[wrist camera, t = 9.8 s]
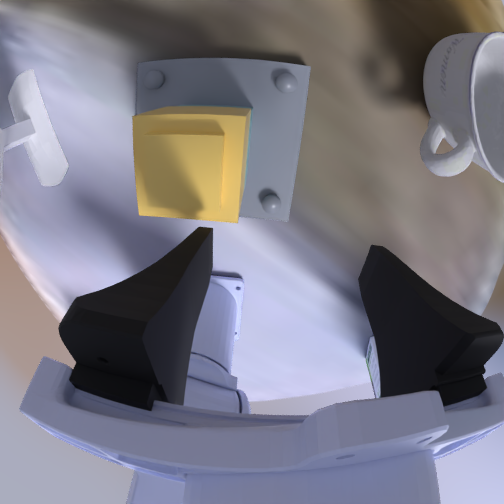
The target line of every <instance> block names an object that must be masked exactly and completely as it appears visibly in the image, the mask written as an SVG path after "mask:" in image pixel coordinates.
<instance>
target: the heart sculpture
mask: <svg viewBox="0 0 504 504" xmlns="http://www.w3.org/2000/svg"><path fill="white" fill-rule="evenodd" d="M8 101H9V104H10V107H11V110H12V114H13V117H14V120H15V123H16V124H14V125H12V126H9V127H7V128H4V129H1V128H0V196H1V187H2V171H3V153H4V152H5V151H7V150H9V149H11V148H14V147H16V146H18V145H20V144H22V143H23V144H24V147H25V149H26V152H27V154H28V157H29V159H30V161H31V164H32V166H33V168H34V170H35V172H36V175H37V177H38V179H39V181H40V183H41V185H42V186H56V185H59V184H60V183H61V181H62V180H63V178H64V176H65V174H66V172H67V170H68V167H69V164H68V162H67V159H66V157H65V155H64V153H63V150H62V148H61V146H60V144H59V141H58V139H57V136H56V134H55V131H54V129H53V126H52V124H51V121H50V119H49V116H48V113H47V111H46V108H45V105H44V102H43V99H42V96H41V93H40V90H39V87H38V84H37V81H36V77H35V74H34V70H33V69H31V70H27V71H25V72H23V73H21V74H20V75H18V76H17V78H16V79H15V81H14V83H13V85H12V87H11V89H10V92H9V95H8Z"/></svg>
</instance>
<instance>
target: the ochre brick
mask: <svg viewBox="0 0 504 504" xmlns="http://www.w3.org/2000/svg"><path fill="white" fill-rule="evenodd" d="M250 116H251V109H250V108H236V107H215V106H167V107H163V108H159V109H155V110H152V111H148V112H144V113H141V114H138V115H134V116H133V150H134V167H135V180H136V191H137V201H138V210H139V215H141V216H156V217H170V218H183V219H195V220H208V221H219V222H230V223H238V218H239V213H240V208H241V202H242V197H243V192H244V185H245V173H246V161H247V149H248V138H249V127H250Z"/></svg>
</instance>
